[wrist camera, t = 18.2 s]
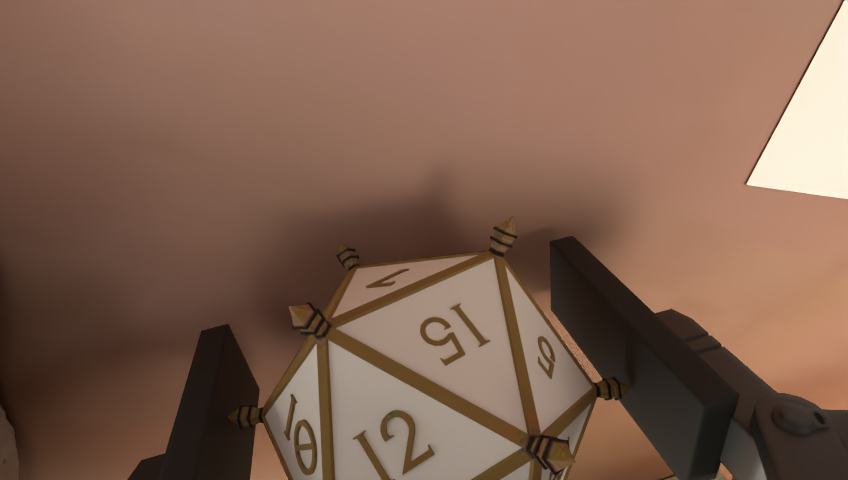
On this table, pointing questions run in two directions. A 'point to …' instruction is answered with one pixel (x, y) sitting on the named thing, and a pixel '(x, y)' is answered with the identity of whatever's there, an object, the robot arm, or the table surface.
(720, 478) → the chest
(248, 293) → the table surface
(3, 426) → the brain slice
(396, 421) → the game die
